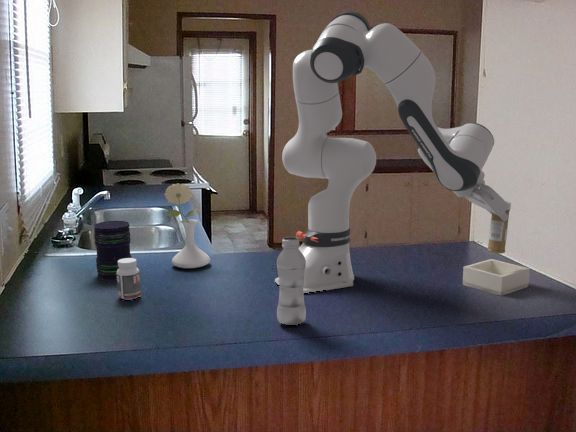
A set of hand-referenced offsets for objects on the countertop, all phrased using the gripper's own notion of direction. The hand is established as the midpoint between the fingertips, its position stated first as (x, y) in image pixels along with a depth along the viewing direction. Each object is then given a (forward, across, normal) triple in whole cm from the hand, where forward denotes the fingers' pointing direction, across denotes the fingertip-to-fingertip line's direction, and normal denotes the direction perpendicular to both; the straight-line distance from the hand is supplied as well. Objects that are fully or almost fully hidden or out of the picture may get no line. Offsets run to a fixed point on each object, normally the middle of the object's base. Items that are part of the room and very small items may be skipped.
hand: (501, 216), depth 174 cm
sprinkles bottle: (+6, 0, +8) cm, 10 cm away
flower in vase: (-45, +31, +72) cm, 90 cm away
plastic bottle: (-27, -20, +54) cm, 63 cm away
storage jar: (-59, +24, +86) cm, 108 cm away
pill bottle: (-54, +4, +82) cm, 98 cm away
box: (+13, 0, +14) cm, 19 cm away
